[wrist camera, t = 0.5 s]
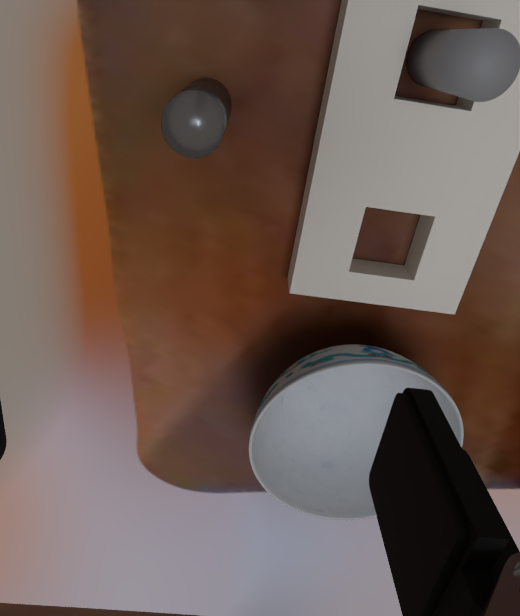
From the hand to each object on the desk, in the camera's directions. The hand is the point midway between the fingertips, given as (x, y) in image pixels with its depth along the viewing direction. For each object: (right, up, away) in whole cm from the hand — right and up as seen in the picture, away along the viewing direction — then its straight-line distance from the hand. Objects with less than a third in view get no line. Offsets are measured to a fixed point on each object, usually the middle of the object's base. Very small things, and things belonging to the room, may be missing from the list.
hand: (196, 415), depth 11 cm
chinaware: (+8, -4, +30) cm, 31 cm away
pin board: (+11, +13, +20) cm, 26 cm away
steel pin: (-2, +15, +19) cm, 24 cm away
